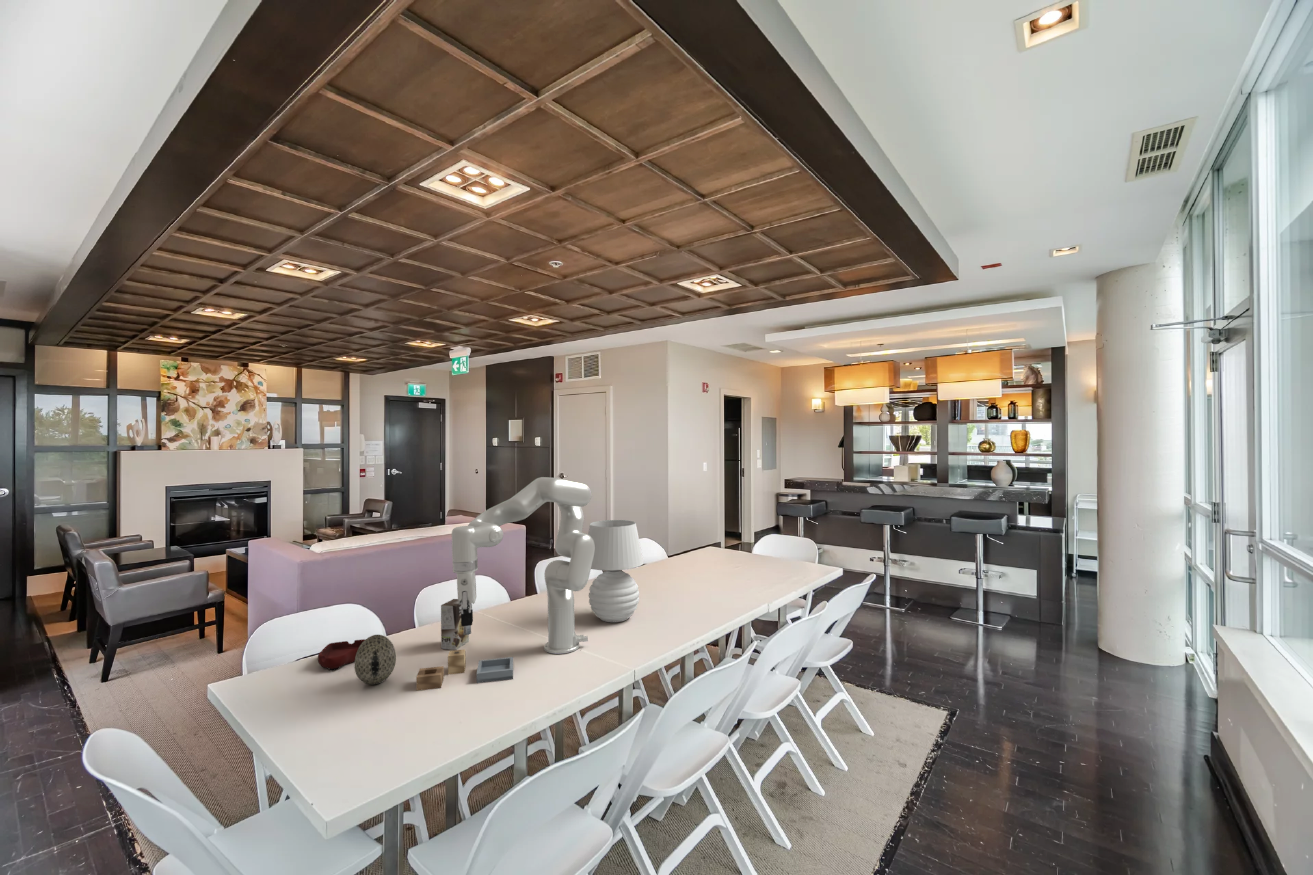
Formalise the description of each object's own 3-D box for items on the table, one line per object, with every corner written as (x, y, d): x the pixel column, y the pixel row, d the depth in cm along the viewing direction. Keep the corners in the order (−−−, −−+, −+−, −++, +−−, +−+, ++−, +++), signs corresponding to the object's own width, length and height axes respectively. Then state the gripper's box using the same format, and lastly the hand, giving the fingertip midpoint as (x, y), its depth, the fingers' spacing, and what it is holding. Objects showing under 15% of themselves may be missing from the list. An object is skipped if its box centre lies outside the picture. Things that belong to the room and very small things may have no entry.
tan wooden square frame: (443, 678, 183) (443, 666, 183) (440, 687, 176) (440, 674, 176) (420, 681, 182) (420, 668, 182) (416, 690, 175) (416, 677, 175)
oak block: (465, 667, 192) (465, 648, 192) (464, 672, 188) (464, 654, 188) (449, 668, 191) (449, 650, 191) (448, 674, 186) (447, 655, 186)
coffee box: (456, 650, 208) (455, 605, 208) (440, 649, 209) (439, 604, 209) (469, 641, 217) (469, 598, 217) (454, 640, 218) (453, 597, 218)
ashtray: (353, 648, 212) (353, 634, 212) (381, 656, 204) (380, 642, 204) (303, 665, 196) (303, 651, 196) (331, 674, 188) (330, 659, 188)
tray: (513, 665, 193) (513, 656, 193) (513, 679, 182) (512, 669, 182) (479, 669, 190) (478, 660, 190) (476, 683, 179) (476, 673, 179)
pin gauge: (471, 631, 182) (470, 600, 182) (470, 634, 180) (469, 602, 180) (464, 632, 182) (463, 601, 182) (463, 635, 180) (462, 603, 179)
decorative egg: (356, 679, 184) (355, 632, 184) (396, 672, 188) (395, 627, 188) (353, 694, 173) (352, 644, 173) (395, 686, 178) (394, 638, 178)
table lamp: (611, 606, 259) (609, 517, 259) (656, 615, 244) (654, 521, 244) (571, 621, 238) (569, 525, 238) (618, 632, 223) (616, 530, 223)
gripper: (476, 570, 174) (478, 631, 174) (479, 559, 189) (481, 614, 189) (449, 572, 172) (451, 633, 172) (455, 561, 187) (457, 617, 188)
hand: (467, 623), depth 181 cm, fingers closed on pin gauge, 2 cm apart
